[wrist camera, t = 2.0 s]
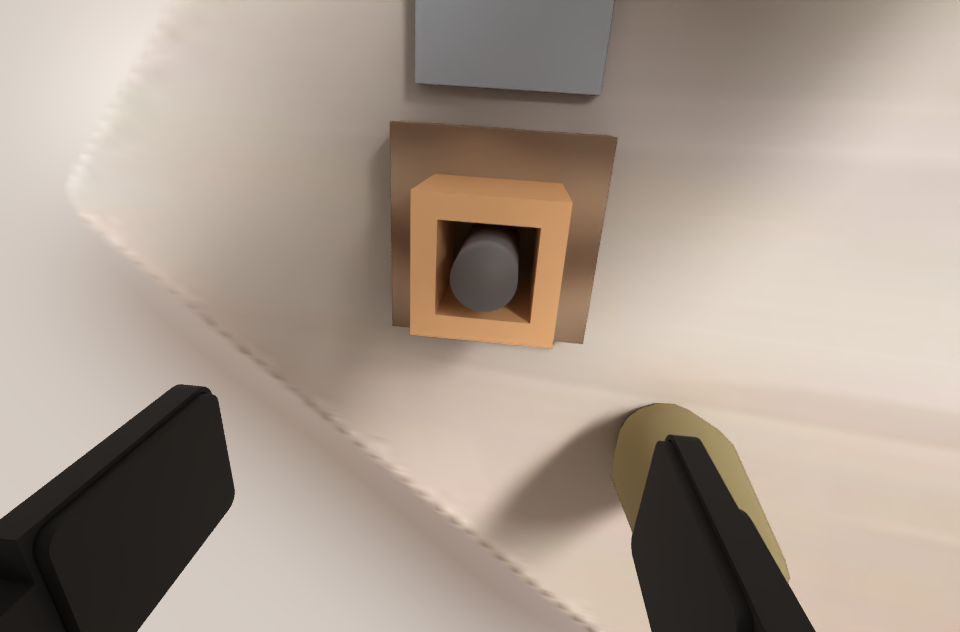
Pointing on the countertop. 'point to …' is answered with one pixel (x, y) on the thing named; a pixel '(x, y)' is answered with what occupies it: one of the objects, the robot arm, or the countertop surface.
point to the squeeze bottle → (676, 420)
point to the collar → (433, 251)
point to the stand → (502, 248)
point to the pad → (513, 44)
